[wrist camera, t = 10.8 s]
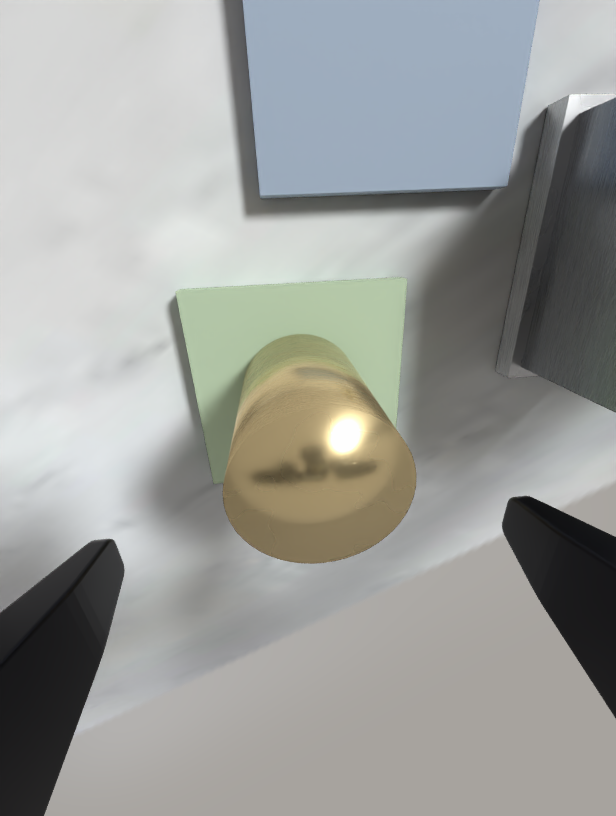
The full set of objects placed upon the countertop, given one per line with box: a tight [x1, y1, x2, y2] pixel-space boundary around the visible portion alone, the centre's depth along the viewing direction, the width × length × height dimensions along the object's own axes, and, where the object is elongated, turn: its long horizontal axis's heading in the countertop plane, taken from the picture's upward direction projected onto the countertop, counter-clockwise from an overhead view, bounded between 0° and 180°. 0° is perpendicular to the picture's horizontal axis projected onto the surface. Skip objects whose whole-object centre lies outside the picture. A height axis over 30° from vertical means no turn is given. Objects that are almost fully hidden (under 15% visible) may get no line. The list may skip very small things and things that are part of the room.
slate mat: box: [243, 0, 540, 199], centre depth 11 cm, size 9×9×1 cm
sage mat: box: [176, 277, 407, 484], centre depth 16 cm, size 9×9×1 cm
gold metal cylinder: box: [223, 334, 416, 563], centre depth 12 cm, size 5×5×7 cm
